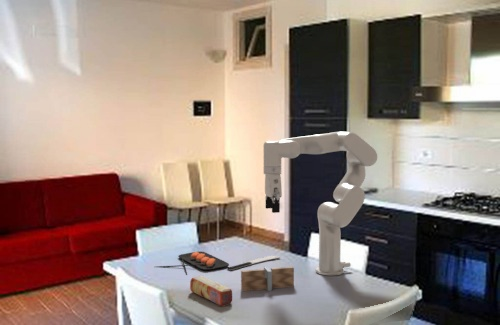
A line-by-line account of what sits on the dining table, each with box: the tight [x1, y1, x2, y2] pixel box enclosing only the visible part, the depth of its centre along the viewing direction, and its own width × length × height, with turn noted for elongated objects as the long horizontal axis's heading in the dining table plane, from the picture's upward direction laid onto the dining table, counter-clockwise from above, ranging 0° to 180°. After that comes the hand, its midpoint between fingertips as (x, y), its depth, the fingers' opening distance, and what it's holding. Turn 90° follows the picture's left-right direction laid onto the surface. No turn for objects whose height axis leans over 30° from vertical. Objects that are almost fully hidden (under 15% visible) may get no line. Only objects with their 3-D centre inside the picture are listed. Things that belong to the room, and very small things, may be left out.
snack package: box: [189, 275, 233, 307], centre depth 206 cm, size 21×7×7 cm, turn 39°
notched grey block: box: [263, 266, 273, 292], centre depth 216 cm, size 6×2×8 cm, turn 14°
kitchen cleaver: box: [226, 255, 281, 272], centre depth 253 cm, size 31×2×10 cm
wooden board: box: [240, 266, 295, 292], centre depth 216 cm, size 22×2×8 cm, turn 104°
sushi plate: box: [155, 251, 230, 276], centre depth 249 cm, size 29×30×4 cm
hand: (272, 210), depth 225 cm, fingers open, 9 cm apart
